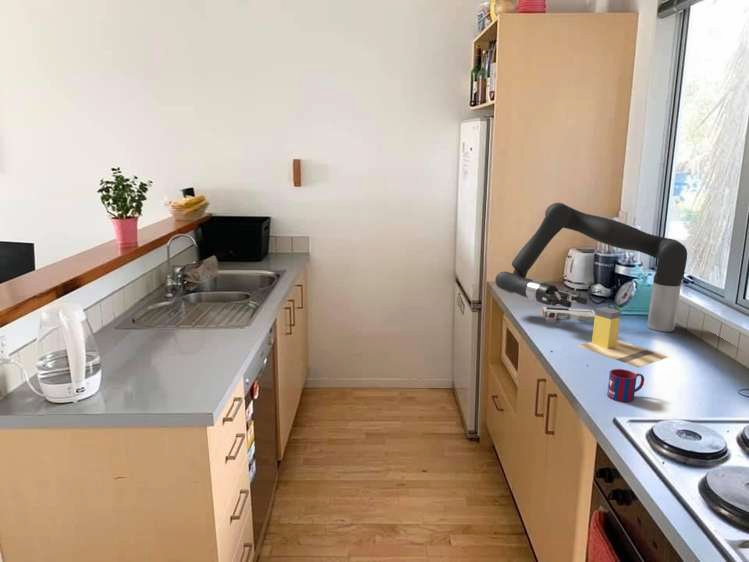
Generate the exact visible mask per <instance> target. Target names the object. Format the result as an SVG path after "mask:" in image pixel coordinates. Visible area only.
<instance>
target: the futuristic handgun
mask: <svg viewBox="0 0 749 562" xmlns="http://www.w3.org/2000/svg"><path fill="white" fill-rule="evenodd" d="M542 312H543V313H542V316H543V317H546V318H545V322H547V323H550V322H552V324H556V323H557V320H556V319H570V318H571V319H570V320H574V319H575V320H574V321H578V320H582V321H581V322H587V321H592V322H594V319H595V310H594V309H587V308H586V309H585V308H583V309H582V308H572V307H570V308H568V307H556V306H554V307H552V306H542Z"/></svg>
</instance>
